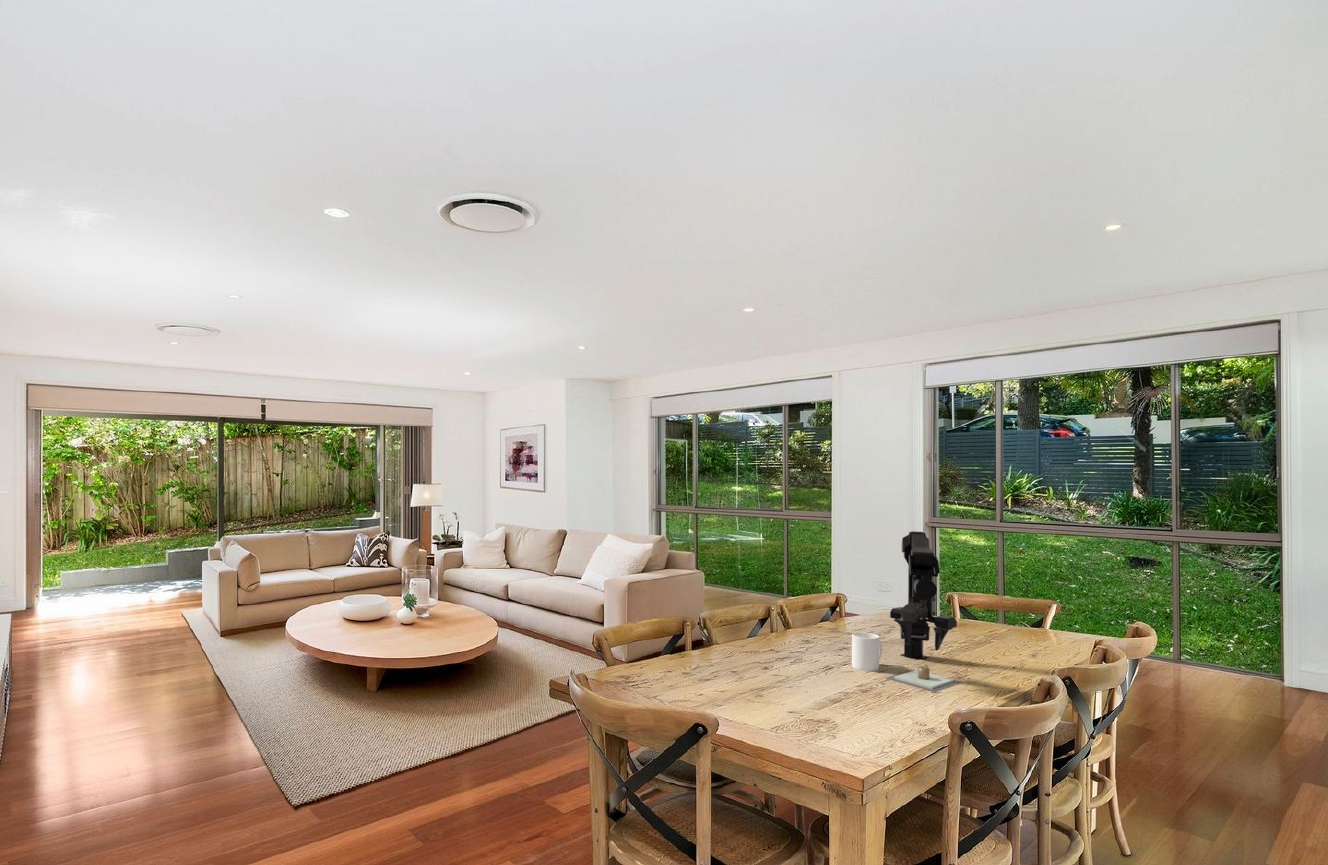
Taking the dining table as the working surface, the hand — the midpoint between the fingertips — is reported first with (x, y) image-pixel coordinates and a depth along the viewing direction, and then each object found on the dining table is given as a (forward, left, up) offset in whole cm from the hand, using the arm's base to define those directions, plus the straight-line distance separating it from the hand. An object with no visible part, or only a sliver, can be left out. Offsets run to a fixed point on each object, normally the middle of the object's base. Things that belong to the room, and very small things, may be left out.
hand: (922, 647), depth 204 cm
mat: (0, 0, -10) cm, 10 cm away
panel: (0, 0, -10) cm, 10 cm away
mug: (+1, -18, -10) cm, 21 cm away
